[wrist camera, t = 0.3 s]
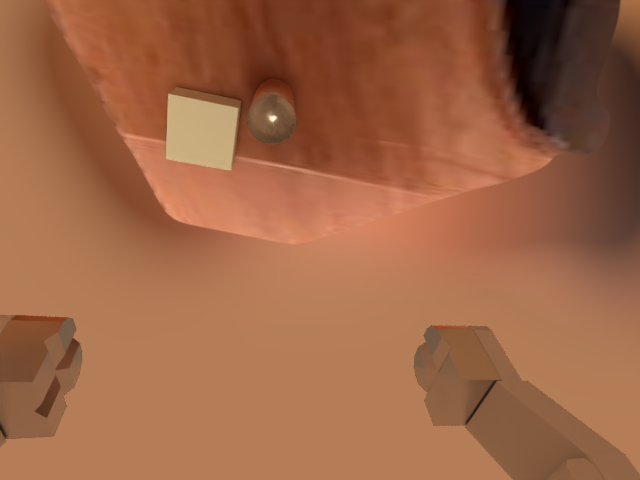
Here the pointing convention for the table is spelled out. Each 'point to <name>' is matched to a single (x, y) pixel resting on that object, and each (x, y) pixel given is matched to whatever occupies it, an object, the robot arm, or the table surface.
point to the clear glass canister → (272, 112)
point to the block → (202, 128)
